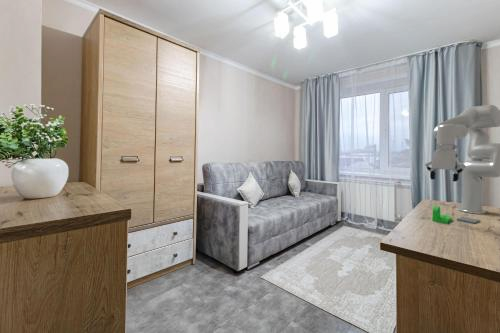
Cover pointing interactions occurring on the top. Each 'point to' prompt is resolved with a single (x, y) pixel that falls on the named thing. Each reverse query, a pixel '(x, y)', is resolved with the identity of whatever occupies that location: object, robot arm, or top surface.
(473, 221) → the dark rubber pad
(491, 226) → the top surface
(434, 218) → the mechanical part
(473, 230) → the top surface
